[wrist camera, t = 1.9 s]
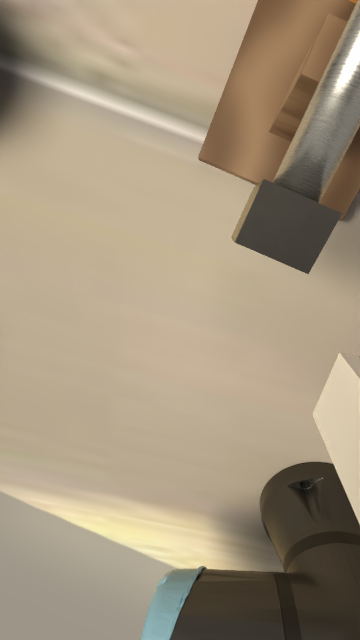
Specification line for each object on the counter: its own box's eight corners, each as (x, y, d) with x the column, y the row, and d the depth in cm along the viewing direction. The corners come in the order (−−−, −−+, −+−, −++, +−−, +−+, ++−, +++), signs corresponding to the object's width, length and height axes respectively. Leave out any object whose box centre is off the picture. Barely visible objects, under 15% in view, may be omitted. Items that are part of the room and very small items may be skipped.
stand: (478, -35, 26) (750, -302, 13) (336, 220, 33) (416, 219, 20) (303, -113, 26) (394, -468, 13) (199, 159, 33) (185, 118, 20)
